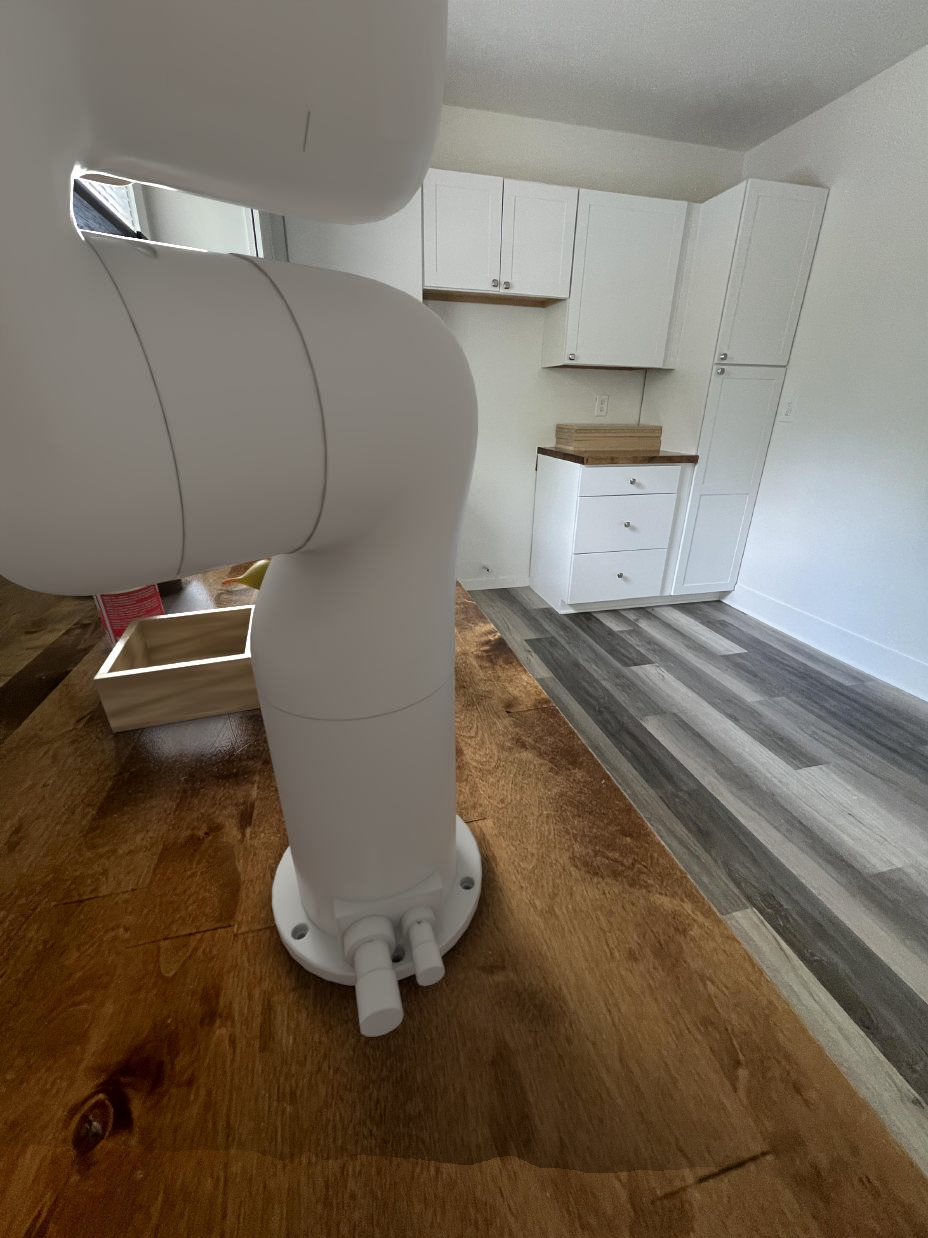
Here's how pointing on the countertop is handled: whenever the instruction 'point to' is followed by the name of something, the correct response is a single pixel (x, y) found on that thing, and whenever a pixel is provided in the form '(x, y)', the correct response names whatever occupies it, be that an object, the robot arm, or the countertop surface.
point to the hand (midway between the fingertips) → (91, 465)
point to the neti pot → (252, 575)
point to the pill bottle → (127, 609)
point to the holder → (179, 669)
